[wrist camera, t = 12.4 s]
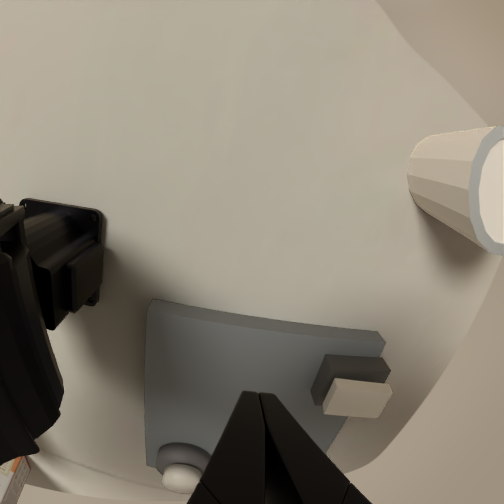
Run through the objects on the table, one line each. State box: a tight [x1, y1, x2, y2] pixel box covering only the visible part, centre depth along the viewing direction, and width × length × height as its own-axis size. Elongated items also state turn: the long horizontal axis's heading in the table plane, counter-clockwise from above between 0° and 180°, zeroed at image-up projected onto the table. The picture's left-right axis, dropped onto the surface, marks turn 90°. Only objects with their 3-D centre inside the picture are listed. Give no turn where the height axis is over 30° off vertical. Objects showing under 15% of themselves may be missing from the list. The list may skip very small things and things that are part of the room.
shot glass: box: [407, 126, 504, 256], centre depth 15 cm, size 7×7×7 cm
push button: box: [162, 464, 201, 494], centre depth 20 cm, size 3×3×1 cm
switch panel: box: [144, 299, 391, 476], centre depth 22 cm, size 16×18×3 cm
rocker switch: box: [323, 378, 393, 418], centre depth 18 cm, size 4×2×1 cm, turn 78°
